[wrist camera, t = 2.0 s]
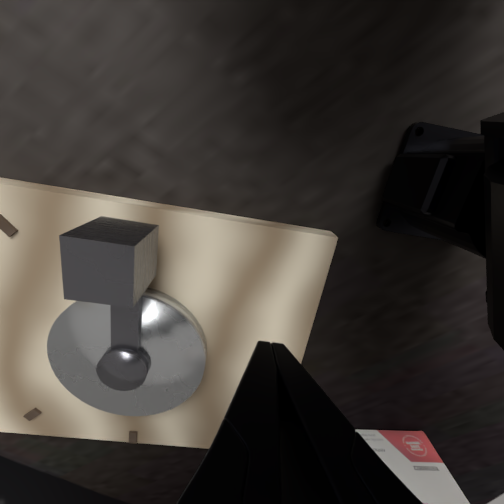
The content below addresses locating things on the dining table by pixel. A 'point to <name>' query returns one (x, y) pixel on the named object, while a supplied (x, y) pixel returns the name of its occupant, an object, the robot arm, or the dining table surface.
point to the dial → (122, 324)
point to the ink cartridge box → (415, 465)
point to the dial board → (166, 280)
